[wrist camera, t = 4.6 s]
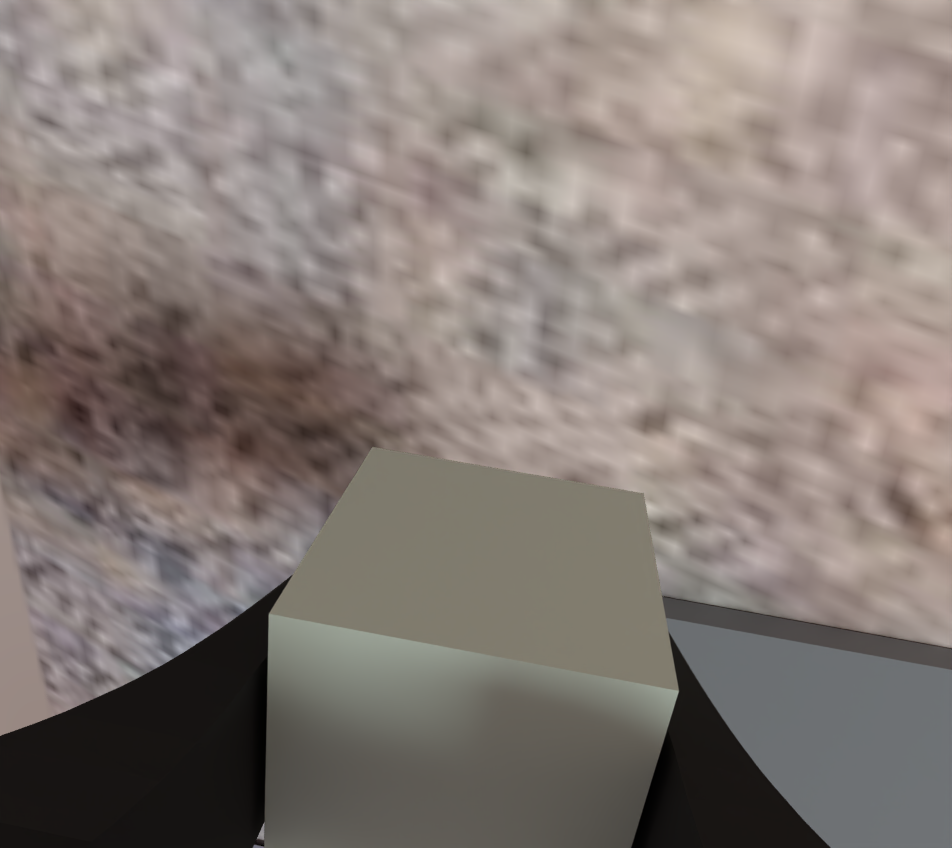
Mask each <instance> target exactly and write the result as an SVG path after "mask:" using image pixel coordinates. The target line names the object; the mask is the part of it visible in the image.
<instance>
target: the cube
mask: <svg viewBox="0 0 952 848" xmlns="http://www.w3.org/2000/svg"><path fill="white" fill-rule="evenodd" d="M678 692H679V689H678V683H677V678H676V672H675V666H674V661H673V655H672V650H671V644H670V638H669V633H668V627H667V622H666V616H665V610H664V605H663V599H662V594H661V588H660V582H659V577H658V571H657V566H656V560H655V554H654V549H653V543H652V538H651V532H650V527H649V521H648V515H647V510H646V504H645V499H644V493H638V492H632V491H626V490H620V489H614V488H609V487H603V486H597V485H591V484H585V483H579V482H574V481H568V480H562V479H556V478H550V477H544V476H539V475H533V474H527V473H521V472H515V471H509V470H504V469H498V468H492V467H486V466H480V465H474V464H469V463H463V462H457V461H451V460H445V459H439V458H434V457H428V456H422V455H416V454H410V453H404V452H399V451H393V450H387V449H381V448H375V447H372V448H371V450H370V452H369V453H368V455H367V457H366V458H365V460H364V461H363V463H362V465H361V466H360V468H359V469H358V471H357V473H356V474H355V476H354V477H353V479H352V481H351V482H350V484H349V486H348V487H347V489H346V490H345V492H344V494H343V495H342V497H341V498H340V500H339V502H338V503H337V505H336V506H335V508H334V510H333V511H332V513H331V514H330V516H329V518H328V519H327V521H326V523H325V524H324V526H323V527H322V529H321V531H320V532H319V534H318V535H317V537H316V539H315V540H314V542H313V543H312V545H311V547H310V548H309V550H308V552H307V553H306V555H305V556H304V558H303V560H302V561H301V563H300V564H299V566H298V568H297V569H296V571H295V572H294V574H293V576H292V577H291V579H290V580H289V582H288V584H287V585H286V587H285V589H284V590H283V592H282V593H281V595H280V597H279V598H278V600H277V601H276V603H275V605H274V606H273V608H272V609H271V611H270V613H269V629H268V679H267V729H266V779H265V828H264V848H631V846H632V843H633V840H634V837H635V833H636V830H637V827H638V823H639V820H640V817H641V814H642V810H643V807H644V804H645V801H646V797H647V794H648V791H649V787H650V784H651V781H652V778H653V774H654V771H655V768H656V764H657V761H658V758H659V755H660V751H661V748H662V745H663V742H664V738H665V735H666V732H667V728H668V725H669V722H670V719H671V715H672V712H673V709H674V706H675V702H676V699H677V696H678Z"/></svg>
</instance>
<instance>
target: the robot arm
mask: <svg viewBox="0 0 952 848" xmlns="http://www.w3.org/2000/svg"><path fill="white" fill-rule="evenodd" d="M292 576H293V575H292ZM292 576H290V577H289V578H288V579H287V580H285V581H284V582H283V583H281V584H280V585H279V586H278V587H276V588H275V589H274V590H272V591H271V592H270V593H269V594H267V595H266V596H265V597H263V598H262V599H261V600H259V601H258V602H257V603H255V604H254V605H253V606H251V607H250V608H249V609H247V610H246V611H244V612H243V613H242V614H240V615H239V616H238V617H236V618H235V619H233V620H232V621H231V622H229V623H228V624H226V625H225V626H224V627H222V628H221V629H219V630H218V631H216V632H215V633H213V634H211V635H210V636H208V637H207V638H205V639H204V640H202V641H201V642H199V643H198V644H196V645H195V646H193V647H192V648H190V649H188V650H187V651H185V652H184V653H182V654H180V655H179V656H177V657H175V658H174V659H172V660H170V661H169V662H167V663H165V664H163V665H162V666H160V667H158V668H156V669H154V670H152V671H150V672H149V673H147V674H145V675H143V676H141V677H139V678H137V679H135V680H133V681H131V682H129V683H127V684H125V685H123V686H121V687H119V688H117V689H115V690H112V691H110V692H108V693H106V694H104V695H101V696H99V697H97V698H95V699H93V700H90V701H88V702H86V703H84V704H81V705H79V706H77V707H75V708H73V709H70V710H68V711H66V712H63V713H61V714H58V715H55V716H53V717H50V718H48V719H45V720H43V721H40V722H38V723H35V724H32V725H29V726H27V727H24V728H21V729H18V730H15V731H13V732H10V733H7V734H4V735H2V736H0V848H264V847H263V846H258V845H254V844H255V841H256V839H257V837H258V835H259V833H260V830H261V828H262V826H263V824H264V822H265V779H266V729H267V679H268V629H269V613H270V611H271V609H272V608H273V606H274V605H275V603H276V601H277V600H278V598H279V597H280V595H281V593H282V592H283V590H284V589H285V587H286V585H287V584H288V582H289V580H290V579H291V577H292ZM668 633H669V631H668ZM669 638H670V644H671V650H672V655H673V661H674V666H675V672H676V678H677V683H678V689H679V692H678V696H677V699H676V702H675V706H674V709H673V712H672V715H671V719H670V722H669V725H668V728H667V732H666V735H665V738H664V742H663V745H662V748H661V751H660V755H659V758H658V761H657V764H656V768H655V771H654V774H653V778H652V781H651V784H650V787H649V791H648V794H647V797H646V801H645V804H644V807H643V810H642V814H641V817H640V820H639V823H638V827H637V830H636V833H635V837H634V840H633V843H632V846H631V848H831V847H830V846H829V845H828V844H827V843H826V842H825V841H824V840H823V839H822V838H821V837H819V835H818V834H817V833H816V832H815V831H814V830H813V829H812V828H811V827H810V826H809V825H808V824H807V823H806V822H805V821H804V820H803V819H802V817H801V816H800V815H799V814H798V813H797V812H796V811H795V810H794V808H793V807H792V806H791V805H790V804H789V803H788V802H787V800H786V799H785V798H784V797H783V796H782V795H781V794H780V793H779V791H778V790H777V789H776V788H775V787H774V786H773V785H772V783H771V782H770V781H769V780H768V779H767V777H766V776H765V775H764V774H763V772H762V771H761V770H760V769H759V767H758V766H757V765H756V764H755V762H754V761H753V760H752V758H751V757H750V756H749V754H748V753H747V752H746V750H745V749H744V748H743V746H742V745H741V744H740V742H739V741H738V740H737V738H736V737H735V735H734V734H733V732H732V731H731V730H730V728H729V727H728V725H727V724H726V722H725V721H724V719H723V718H722V716H721V715H720V713H719V712H718V710H717V709H716V707H715V706H714V704H713V703H712V701H711V700H710V698H709V697H708V695H707V694H706V692H705V691H704V689H703V688H702V686H701V684H700V683H699V681H698V680H697V678H696V676H695V675H694V673H693V671H692V670H691V668H690V666H689V665H688V663H687V661H686V660H685V658H684V656H683V655H682V653H681V651H680V650H679V648H678V646H677V645H676V643H675V641H674V639H673V638H672V636H671V634H670V633H669Z"/></svg>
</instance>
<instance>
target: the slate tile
mask: <svg viewBox="0 0 952 848" xmlns="http://www.w3.org/2000/svg"><path fill="white" fill-rule="evenodd" d="M662 599H663V605H664V610H665V616H666V622H667V627H668V631H669V633H670V634H671V636H672V638H673V639H674V641H675V643H676V645H677V646H678V648H679V650H680V651H681V653H682V655H683V656H684V658H685V660H686V661H687V663H688V665H689V666H690V668H691V670H692V671H693V673H694V675H695V676H696V678H697V680H698V681H699V683H700V684H701V686H702V688H703V689H704V691H705V692H706V694H707V695H708V697H709V698H710V700H711V701H712V703H713V704H714V706H715V707H716V709H717V710H718V712H719V713H720V715H721V716H722V718H723V719H724V721H725V722H726V724H727V725H728V727H729V728H730V730H731V731H732V732H733V734H734V735H735V737H736V738H737V740H738V741H739V742H740V744H741V745H742V746H743V748H744V749H745V750H746V752H747V753H748V754H749V756H750V757H751V758H752V760H753V761H754V762H755V764H756V765H757V766H758V767H759V769H760V770H761V771H762V772H763V774H764V775H765V776H766V777H767V779H768V780H769V781H770V782H771V783H772V785H773V786H774V787H775V788H776V789H777V790H778V791H779V793H780V794H781V795H782V796H783V797H784V798H785V799H786V800H787V802H788V803H789V804H790V805H791V806H792V807H793V808H794V810H795V811H796V812H797V813H798V814H799V815H800V816H801V817H802V819H803V820H804V821H805V822H806V823H807V824H808V825H809V826H810V827H811V828H812V829H813V830H814V831H815V832H816V833H817V834H818V835H819V837H821V838H822V839H823V840H824V841H825V842H826V843H827V844H828V845H829V846H830V847H831V848H952V649H949V648H943V647H938V646H932V645H927V644H921V643H916V642H910V641H904V640H899V639H893V638H888V637H882V636H877V635H871V634H866V633H860V632H855V631H849V630H844V629H838V628H832V627H827V626H821V625H816V624H810V623H805V622H799V621H794V620H788V619H783V618H777V617H771V616H766V615H760V614H755V613H749V612H744V611H738V610H733V609H727V608H722V607H716V606H710V605H705V604H699V603H694V602H688V601H683V600H677V599H672V598H666V597H662Z"/></svg>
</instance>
